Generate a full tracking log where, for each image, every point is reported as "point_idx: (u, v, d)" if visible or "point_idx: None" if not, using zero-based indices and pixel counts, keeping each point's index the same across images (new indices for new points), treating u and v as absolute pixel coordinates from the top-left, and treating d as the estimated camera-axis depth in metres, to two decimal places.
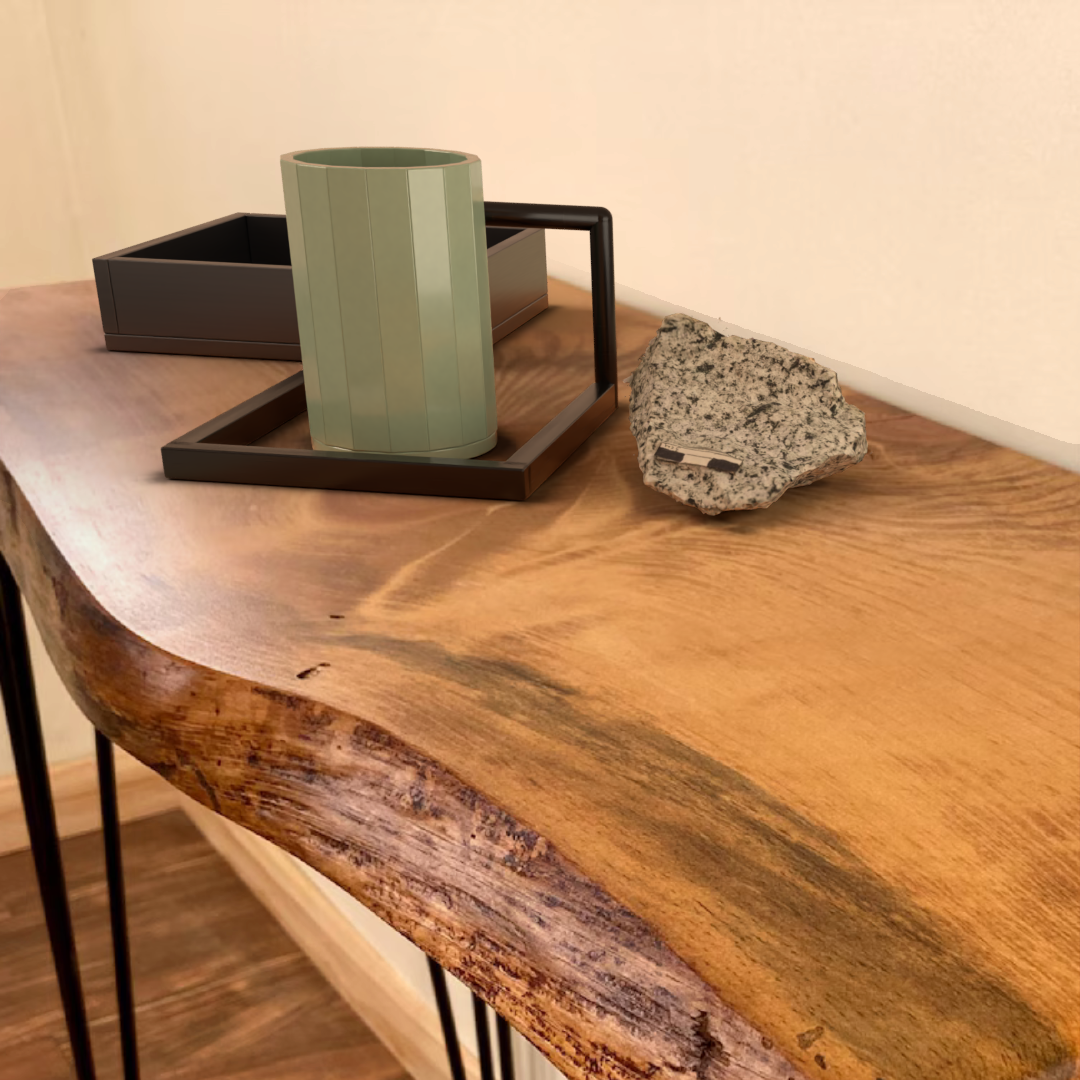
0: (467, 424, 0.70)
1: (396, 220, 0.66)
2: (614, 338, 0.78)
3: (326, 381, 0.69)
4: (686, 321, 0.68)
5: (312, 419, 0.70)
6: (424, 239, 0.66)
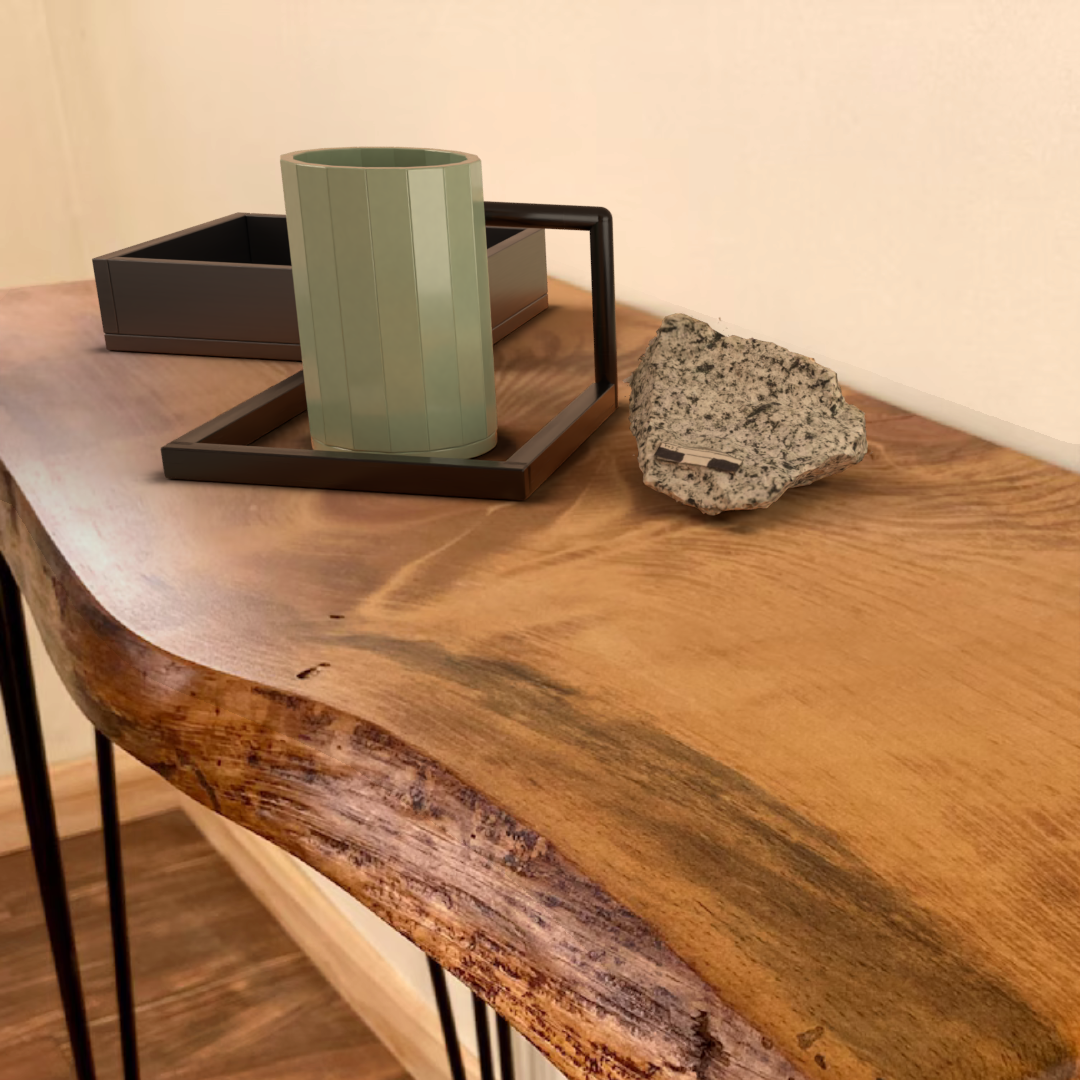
0: (467, 424, 0.70)
1: (396, 220, 0.66)
2: (614, 338, 0.78)
3: (326, 381, 0.69)
4: (686, 321, 0.68)
5: (312, 419, 0.70)
6: (424, 239, 0.66)
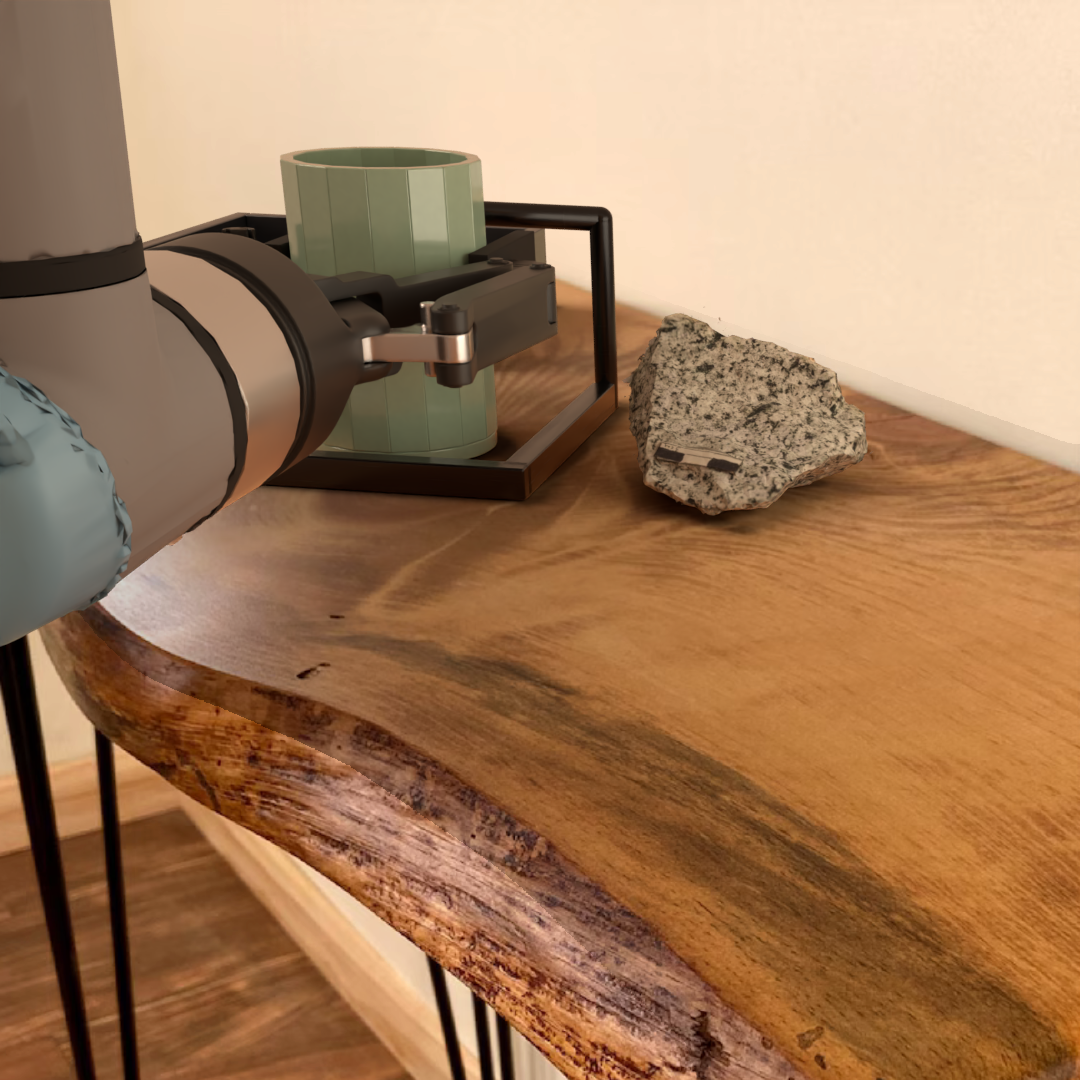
0: (467, 424, 0.70)
1: (396, 220, 0.66)
2: (614, 338, 0.78)
3: None
4: (686, 321, 0.68)
5: None
6: (424, 239, 0.66)
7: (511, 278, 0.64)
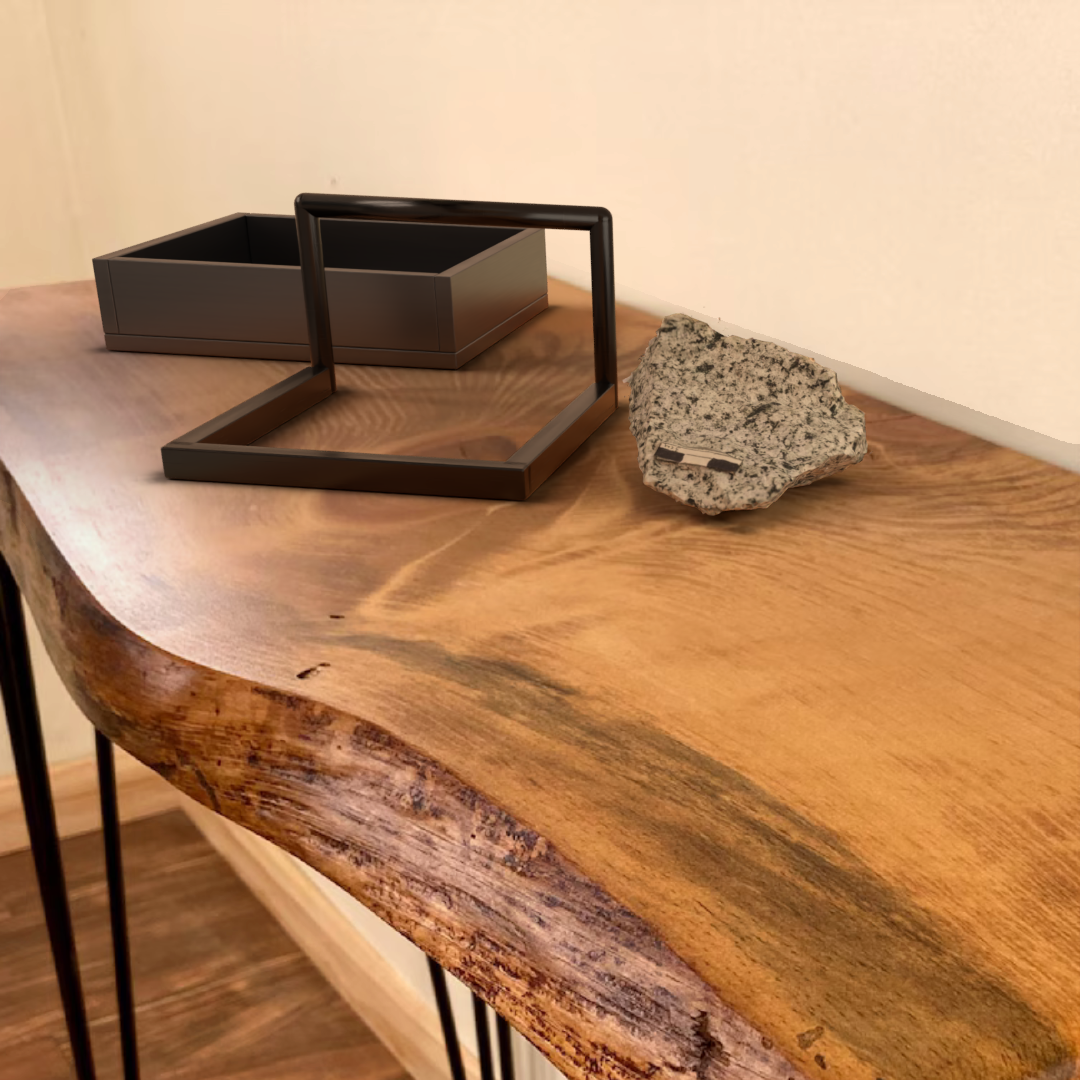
0: None
1: None
2: (614, 338, 0.78)
3: None
4: (686, 321, 0.68)
5: None
6: None
7: None
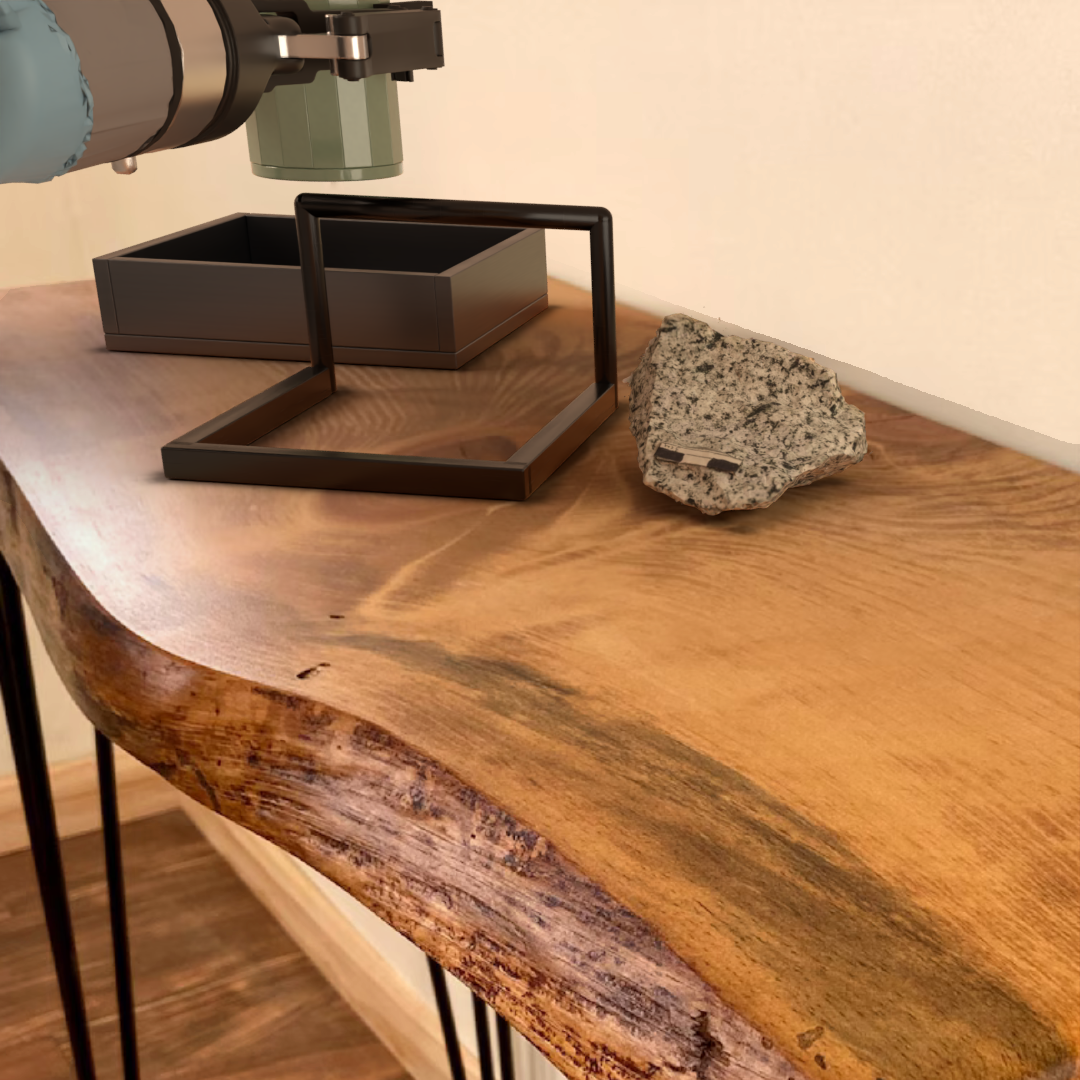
0: (376, 149, 0.87)
1: None
2: (614, 338, 0.78)
3: (260, 109, 0.86)
4: (686, 321, 0.68)
5: (251, 145, 0.87)
6: None
7: (402, 11, 0.81)
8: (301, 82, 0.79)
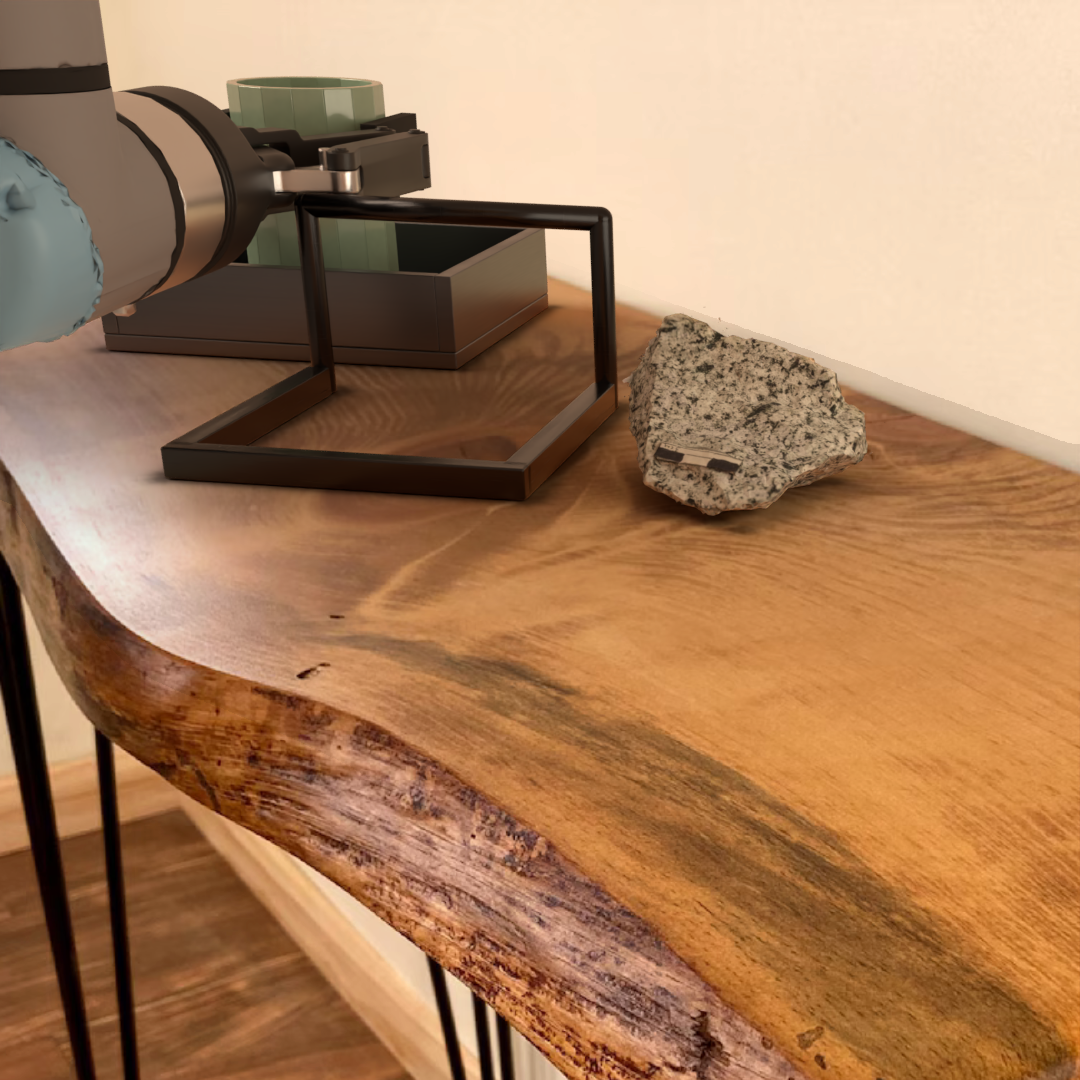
0: None
1: (315, 129, 0.86)
2: (614, 338, 0.78)
3: (264, 257, 0.89)
4: (686, 321, 0.68)
5: None
6: None
7: (392, 138, 0.82)
8: (292, 209, 0.80)
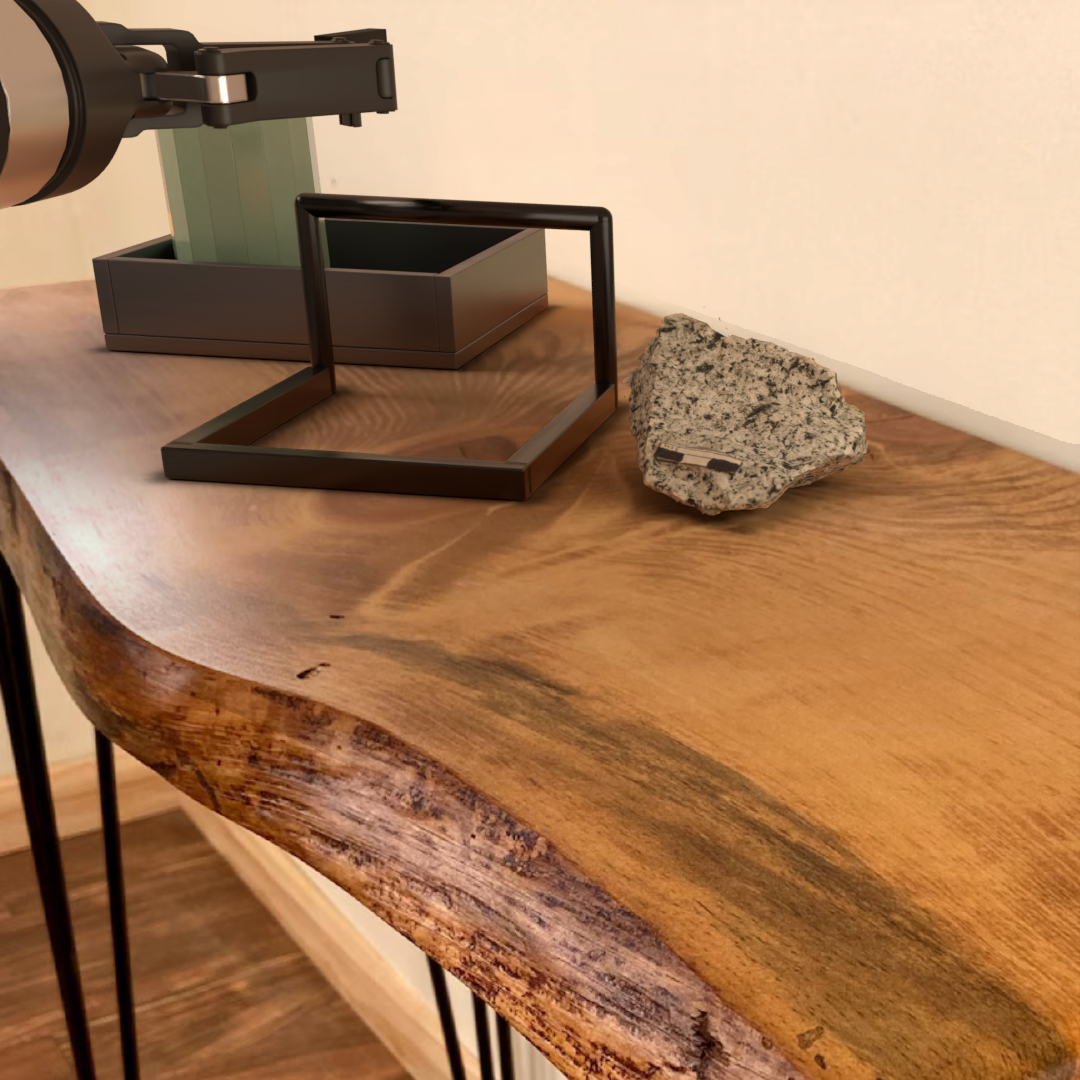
0: None
1: (250, 127, 0.85)
2: (614, 338, 0.78)
3: (199, 258, 0.88)
4: (686, 321, 0.68)
5: None
6: (272, 141, 0.86)
7: (329, 46, 0.69)
8: (183, 126, 0.68)
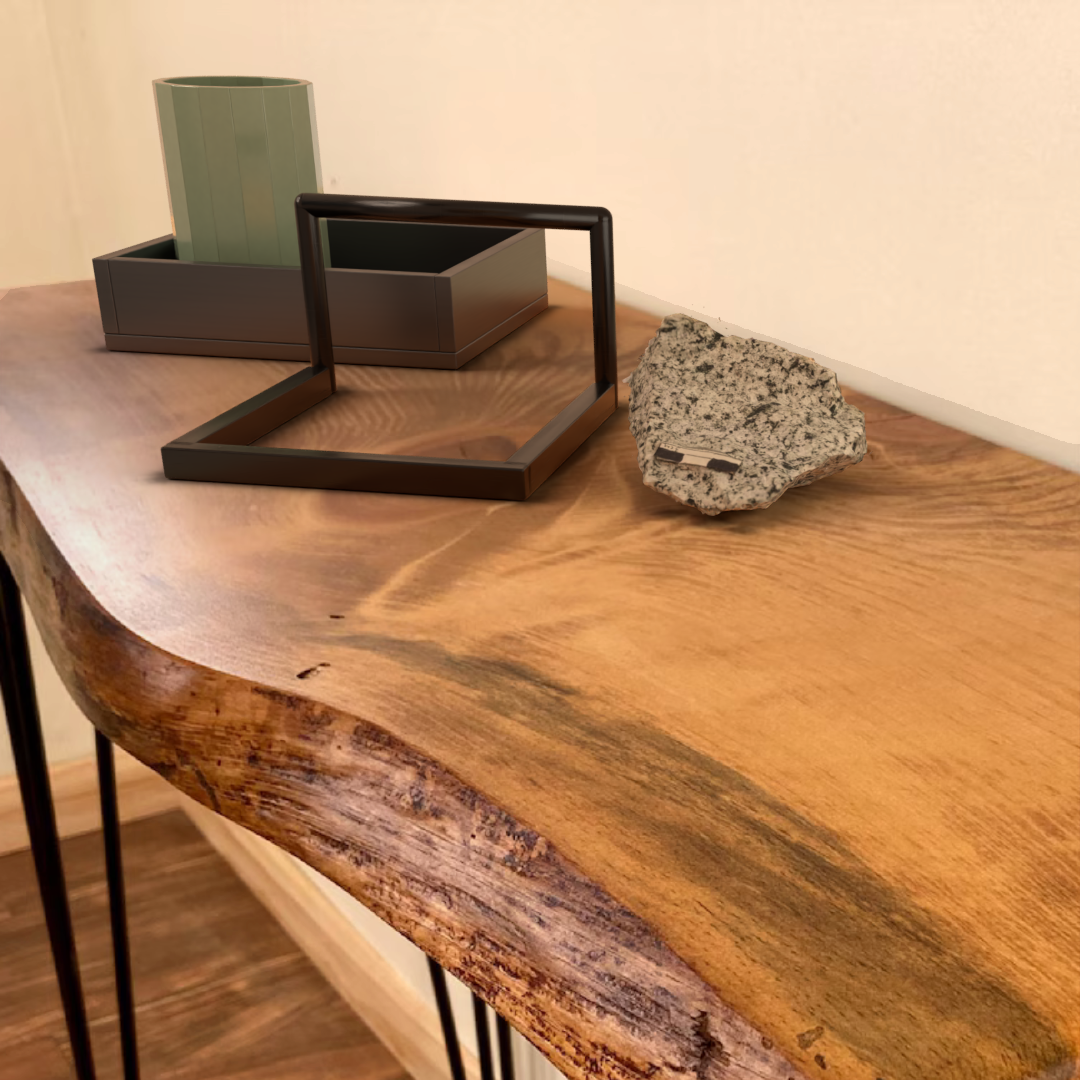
0: None
1: (254, 128, 0.85)
2: (614, 338, 0.78)
3: (200, 258, 0.88)
4: (685, 321, 0.68)
5: None
6: (276, 143, 0.86)
7: None
8: None
